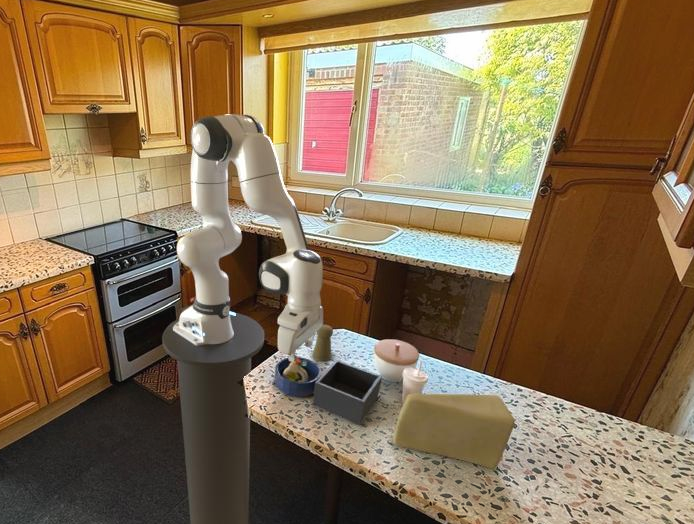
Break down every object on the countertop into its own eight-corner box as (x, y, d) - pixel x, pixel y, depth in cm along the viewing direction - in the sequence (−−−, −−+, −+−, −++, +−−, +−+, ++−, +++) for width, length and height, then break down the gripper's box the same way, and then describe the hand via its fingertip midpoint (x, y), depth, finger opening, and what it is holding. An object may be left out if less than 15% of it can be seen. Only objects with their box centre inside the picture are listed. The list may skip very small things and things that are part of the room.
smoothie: (417, 413, 107) (428, 371, 101) (393, 403, 111) (402, 362, 105) (424, 401, 112) (434, 359, 106) (400, 392, 115) (410, 351, 109)
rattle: (314, 379, 120) (317, 347, 115) (302, 394, 114) (305, 360, 109) (291, 371, 124) (293, 340, 119) (279, 385, 118) (281, 352, 113)
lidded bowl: (420, 375, 123) (428, 345, 118) (400, 393, 115) (407, 361, 110) (383, 358, 131) (389, 329, 126) (362, 374, 123) (367, 343, 118)
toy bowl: (266, 386, 118) (267, 372, 116) (288, 365, 127) (289, 352, 125) (306, 403, 111) (307, 389, 109) (326, 380, 120) (328, 366, 118)
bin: (312, 404, 111) (315, 382, 107) (333, 380, 120) (336, 359, 117) (359, 425, 103) (364, 402, 100) (377, 397, 113) (382, 376, 110)
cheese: (396, 458, 94) (408, 409, 87) (389, 429, 102) (400, 381, 96) (498, 472, 90) (518, 421, 84) (482, 440, 99) (500, 392, 92)
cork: (311, 358, 131) (314, 329, 126) (314, 349, 136) (317, 321, 131) (330, 362, 129) (333, 332, 124) (332, 352, 134) (335, 323, 129)
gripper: (310, 294, 117) (307, 334, 123) (273, 321, 102) (272, 365, 108) (330, 299, 114) (326, 340, 120) (295, 327, 99) (293, 373, 105)
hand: (300, 353), depth 114 cm, fingers open, 8 cm apart
